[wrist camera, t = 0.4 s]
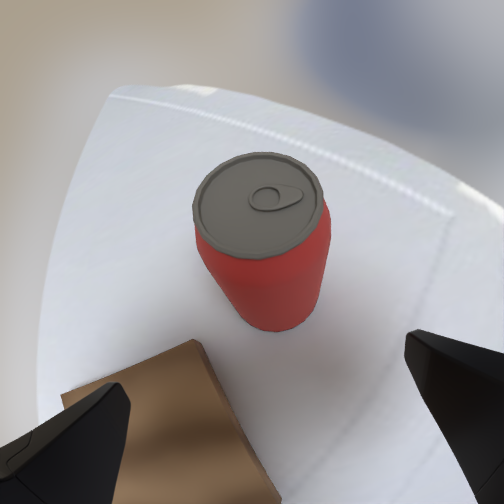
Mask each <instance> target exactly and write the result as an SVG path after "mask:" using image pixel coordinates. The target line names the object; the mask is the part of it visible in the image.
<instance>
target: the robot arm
mask: <svg viewBox="0 0 504 504" xmlns="http://www.w3.org/2000/svg"><path fill="white" fill-rule="evenodd" d="M404 357H405V361H406V364H407V366H408V368H409V370H410V372H411V374H412V377H413V379H414V381H415V383H416V385H417V388H418V390H419V392H420V394H421V396H422V398H423V400H424V402H425V404H426V405H427V407H428V409H429V410H430V412H431V414H432V416H433V417H434V419H435V421H436V423H437V424H438V426H439V428H440V430H441V431H442V433H443V435H444V437H445V439H446V440H447V442H448V444H449V446H450V448H451V450H452V452H453V453H454V455H455V457H456V459H457V461H458V463H459V465H460V467H461V469H462V471H463V473H464V475H465V477H466V479H467V481H468V483H469V485H470V487H471V489H472V491H473V493H474V495H475V498H476V500H477V503H478V504H504V353H500V352H497V351H493V350H489V349H486V348H482V347H479V346H475V345H472V344H468V343H465V342H461V341H458V340H454V339H451V338H447V337H444V336H440V335H437V334H434V333H430V332H427V331H423V330H420V329H417V330H414V331H411V332H408V333H407V335H406V340H405V352H404ZM130 411H131V402H130V399H129V397H128V396H127V394H126V392H125V390H124V388H123V386H122V385H121V384H120V383H119V382H107V383H106V384H104V385H102V386H101V387H99V388H98V389H96V390H95V391H93V392H92V393H90V394H89V395H87V396H86V397H84V398H82V399H81V400H79V401H78V402H76V403H75V404H73V405H71V406H70V407H68V408H67V409H65V410H64V411H62V412H60V413H59V414H57V415H56V416H54V417H52V418H51V419H49V420H48V421H46V422H44V423H43V424H41V425H40V426H38V427H37V428H35V429H33V431H32V430H31V431H30V432H29V433H27V434H25V435H23V436H21V437H20V438H18V439H16V440H14V441H12V442H10V443H9V444H7V445H5V446H3V447H1V448H0V504H112V501H113V497H114V492H115V487H116V482H117V478H118V474H119V469H120V465H121V461H122V457H123V453H124V448H125V444H126V438H127V431H128V424H129V417H130Z"/></svg>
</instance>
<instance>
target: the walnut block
mask: <svg viewBox="0 0 504 504" xmlns="http://www.w3.org/2000/svg"><path fill="white" fill-rule="evenodd" d="M107 382H119V383H120V384H121V385H122V386H123V388H124V390H125V392H126V394H127V396H128V397H129V399H130V402H131V411H130V417H129V424H128V431H127V438H126V444H125V448H124V453H123V457H122V461H121V465H120V469H119V474H118V478H117V482H116V487H115V492H114V497H113V501H112V504H281V501H282V498H281V496H280V495H279V493H278V491H277V490H276V488H275V487H274V485H273V483H272V482H271V480H270V478H269V477H268V475H267V473H266V471H265V470H264V468H263V466H262V465H261V463H260V461H259V459H258V457H257V456H256V454H255V452H254V450H253V448H252V447H251V445H250V443H249V441H248V439H247V437H246V436H245V434H244V432H243V430H242V428H241V426H240V424H239V422H238V420H237V418H236V416H235V414H234V412H233V411H232V409H231V407H230V405H229V402H228V400H227V398H226V396H225V394H224V392H223V390H222V388H221V386H220V384H219V382H218V380H217V378H216V375H215V373H214V371H213V369H212V367H211V364H210V362H209V360H208V358H207V356H206V353H205V351H204V349H203V347H202V344H201V343H199V342H198V341H196V340H194V339H191V340H189V341H187V342H185V343H183V344H181V345H179V346H176V347H174V348H172V349H170V350H168V351H165V352H163V353H161V354H159V355H156V356H154V357H152V358H150V359H147V360H145V361H143V362H140V363H138V364H136V365H133V366H131V367H129V368H126V369H124V370H122V371H119V372H117V373H115V374H112V375H110V376H107V377H105V378H102V379H100V380H97V381H95V382H92V383H90V384H87V385H85V386H82V387H80V388H77V389H74V390H72V391H69V392H67V393H64V394H61V399H62V402H63V406H64V409H67V408H68V407H70V406H71V405H73V404H75V403H76V402H78V401H79V400H81V399H82V398H84V397H86V396H87V395H89V394H90V393H92V392H93V391H95V390H96V389H98V388H99V387H101V386H102V385H104V384H106V383H107Z"/></svg>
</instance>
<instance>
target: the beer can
mask: <svg viewBox="0 0 504 504" xmlns="http://www.w3.org/2000/svg"><path fill="white" fill-rule="evenodd" d="M192 209H193V221H194V224H195V235H196V244H197V249H198V252H199V254H200V256H201V258H202V260H203V261H204V263H205V265H206V267H207V269H208V270H209V272H210V273H211V275H212V276H213V277H214V279H215V280H216V282H217V283H218V285H219V286H220V287H221V289H222V290H223V292H224V293H225V295H226V296H227V297H228V299H229V300H230V302H231V303H232V304H233V306H234V307H235V309H236V310H237V311H238V313H239V314H240V316H241V317H242V318H243V319H245V320H246V321H247V322H248V323H249V324H250V325H252V326H254V327H256V328H259V329H261V330H263V331H273V332H279V331H284V330H288V329H292V328H294V327H295V326H297V325H299V324H300V323H302V322H304V321H305V319H306V318H307V317H308V316H309V315H310V314H311V312H312V311H313V309H314V307H315V304H316V302H317V299H318V296H319V292H320V287H321V283H322V278H323V274H324V269H325V265H326V260H327V255H328V250H329V245H330V240H331V218H330V213H329V210H328V207H327V205H326V202H325V200H324V198H323V190H322V187H321V185H320V183H319V180H318V178H317V176H316V175H315V174H314V173H313V172H312V171H311V170H310V169H309V168H308V167H307V166H306V165H305V164H303V163H302V162H300V161H298V160H296V159H294V158H292V157H291V156H287V155H283V154H279V153H274V152H253V153H248V154H244V155H240V156H236V157H234V158H232V159H230V160H228V161H226V162H224V163H222V164H220V165H219V166H217V167H216V168H215V169H214V170H213V171H211V172H210V173H209V174H208V175H207V176H206V177H205V178H204V180H203V181H202V183H201V184H200V186H199V187H198V189H197V191H196V194H195V197H194V201H193V204H192Z"/></svg>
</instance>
